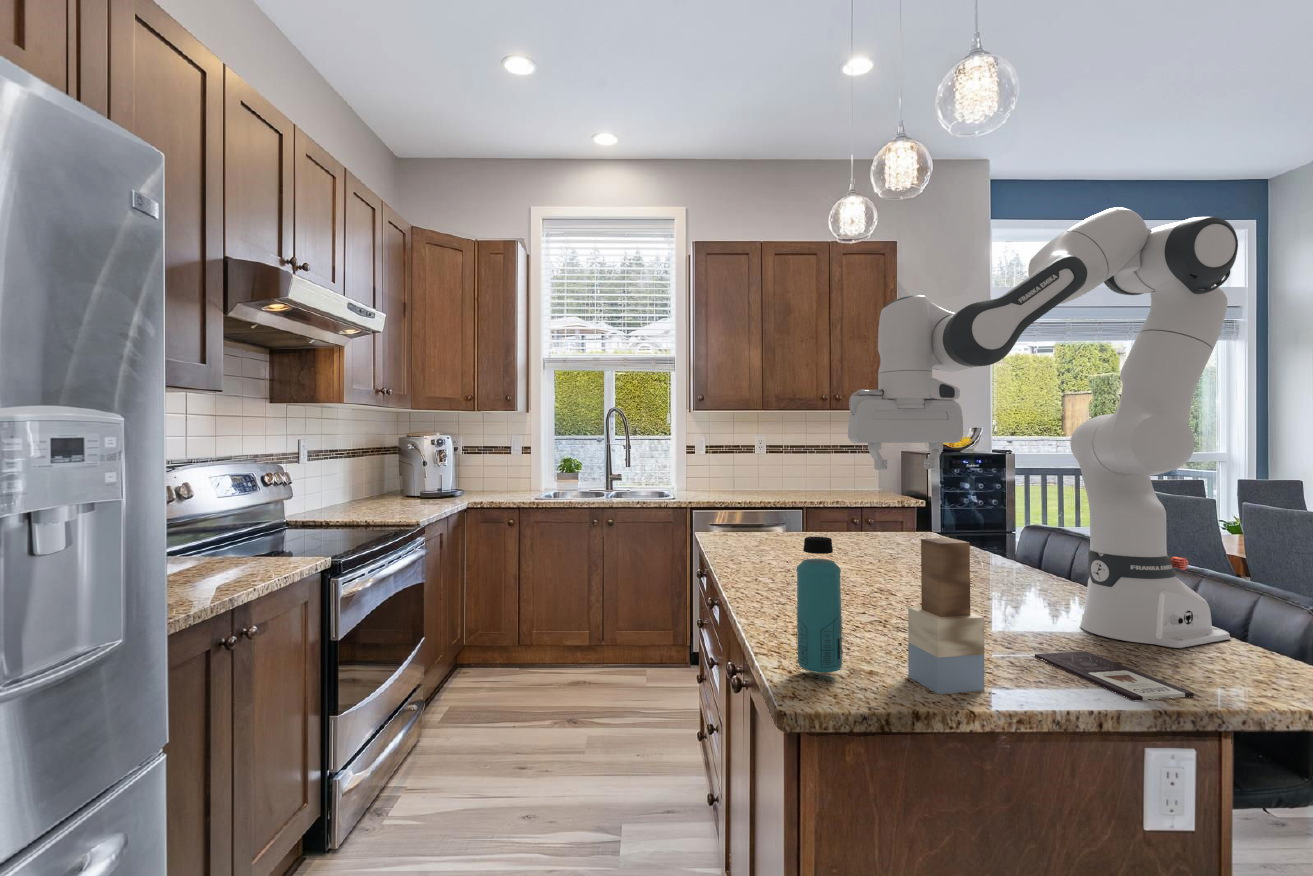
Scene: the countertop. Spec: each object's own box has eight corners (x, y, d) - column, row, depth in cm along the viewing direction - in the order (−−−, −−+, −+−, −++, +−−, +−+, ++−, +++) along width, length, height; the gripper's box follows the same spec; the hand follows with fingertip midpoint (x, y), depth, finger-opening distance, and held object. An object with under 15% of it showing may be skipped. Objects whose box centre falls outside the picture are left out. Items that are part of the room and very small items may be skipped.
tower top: (952, 639, 96) (951, 605, 97) (984, 654, 90) (984, 617, 90) (908, 642, 95) (908, 607, 95) (937, 657, 88) (937, 620, 88)
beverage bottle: (844, 685, 92) (844, 540, 92) (795, 682, 93) (795, 539, 93) (841, 669, 98) (840, 534, 98) (795, 666, 99) (795, 533, 100)
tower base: (951, 673, 97) (951, 639, 97) (984, 691, 90) (984, 654, 90) (908, 677, 95) (908, 642, 95) (938, 694, 88) (937, 657, 88)
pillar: (949, 607, 95) (949, 538, 95) (970, 615, 91) (969, 542, 91) (921, 609, 94) (920, 539, 94) (940, 617, 90) (940, 543, 90)
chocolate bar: (1085, 651, 105) (1193, 692, 87) (1085, 657, 105) (1193, 700, 87) (1034, 654, 104) (1133, 697, 86) (1034, 660, 104) (1133, 704, 86)
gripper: (858, 387, 110) (859, 470, 110) (968, 389, 114) (969, 469, 114) (841, 390, 116) (841, 469, 116) (945, 392, 120) (946, 468, 120)
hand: (905, 469), depth 115 cm, fingers open, 8 cm apart
